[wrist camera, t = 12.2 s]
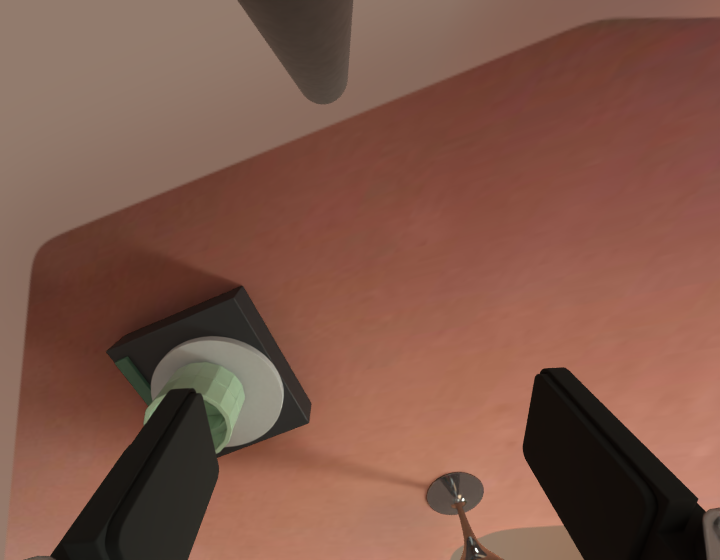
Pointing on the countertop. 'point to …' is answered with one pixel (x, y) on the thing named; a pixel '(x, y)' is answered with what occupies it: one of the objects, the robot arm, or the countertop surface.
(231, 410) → the bowl
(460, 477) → the wine glass
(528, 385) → the countertop surface
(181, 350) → the scale
